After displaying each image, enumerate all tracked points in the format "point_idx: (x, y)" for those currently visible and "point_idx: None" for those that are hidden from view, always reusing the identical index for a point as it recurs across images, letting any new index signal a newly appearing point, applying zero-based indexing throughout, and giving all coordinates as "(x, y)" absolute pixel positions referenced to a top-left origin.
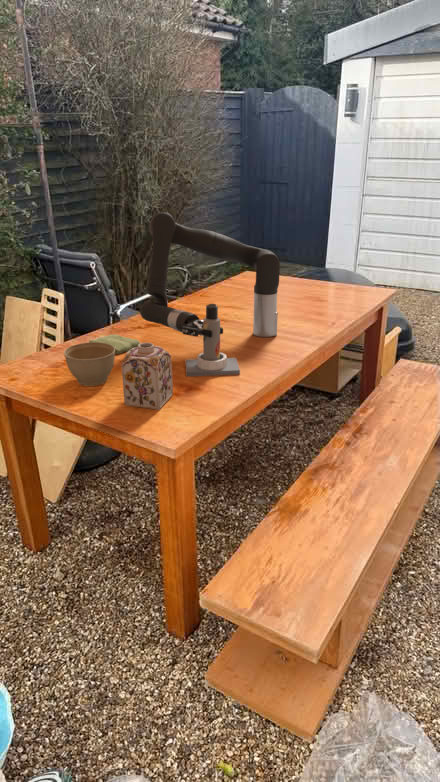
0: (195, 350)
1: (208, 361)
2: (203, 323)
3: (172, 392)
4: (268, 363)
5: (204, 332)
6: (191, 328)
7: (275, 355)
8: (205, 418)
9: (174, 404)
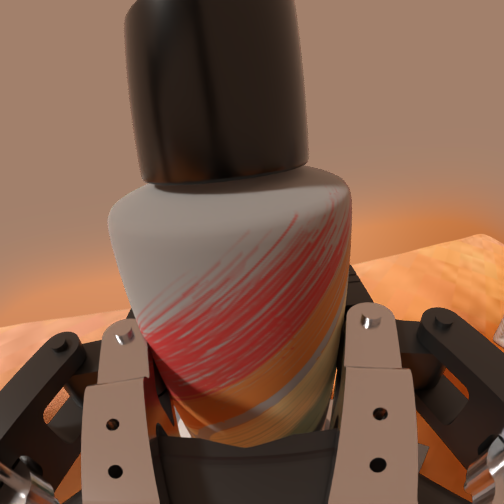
0: None
1: (330, 403)
2: (346, 257)
3: (496, 331)
4: None
5: (363, 294)
6: (496, 358)
7: None
8: (437, 254)
9: (489, 305)
